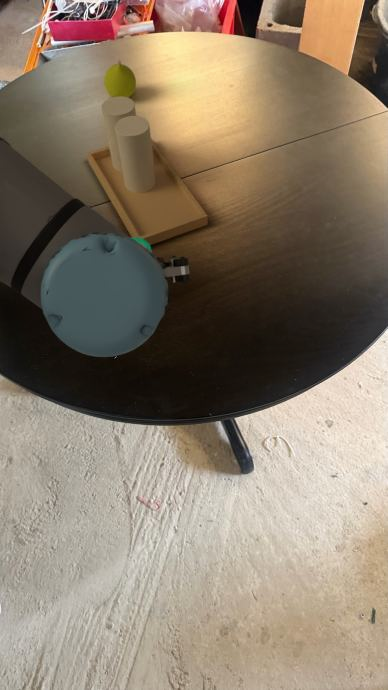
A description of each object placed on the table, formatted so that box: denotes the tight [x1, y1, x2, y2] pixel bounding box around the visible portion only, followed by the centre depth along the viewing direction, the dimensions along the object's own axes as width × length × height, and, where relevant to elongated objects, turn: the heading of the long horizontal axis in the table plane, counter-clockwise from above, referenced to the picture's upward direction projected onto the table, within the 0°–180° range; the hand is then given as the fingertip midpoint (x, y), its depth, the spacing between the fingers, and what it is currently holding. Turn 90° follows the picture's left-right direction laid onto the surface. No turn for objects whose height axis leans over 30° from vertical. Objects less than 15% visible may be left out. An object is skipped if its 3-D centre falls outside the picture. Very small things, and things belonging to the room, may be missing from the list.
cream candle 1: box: [101, 97, 137, 172], centre depth 91 cm, size 6×6×12 cm
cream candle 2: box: [115, 115, 156, 193], centre depth 87 cm, size 6×6×12 cm
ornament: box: [103, 59, 137, 98], centre depth 106 cm, size 7×7×10 cm
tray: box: [86, 138, 209, 246], centre depth 91 cm, size 28×14×2 cm, turn 26°
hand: (132, 269), depth 65 cm, fingers closed on candle, 5 cm apart
